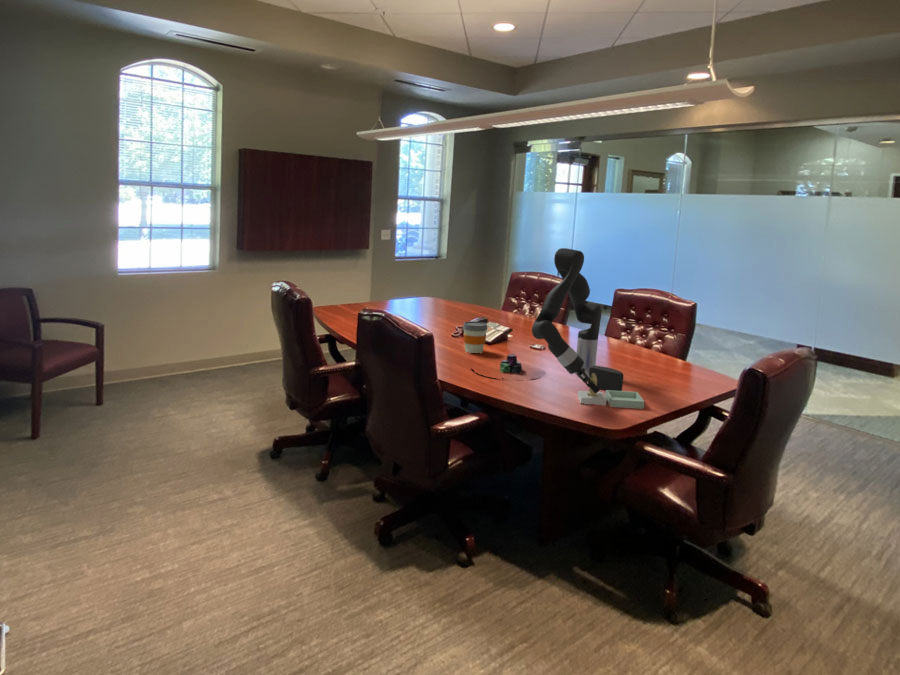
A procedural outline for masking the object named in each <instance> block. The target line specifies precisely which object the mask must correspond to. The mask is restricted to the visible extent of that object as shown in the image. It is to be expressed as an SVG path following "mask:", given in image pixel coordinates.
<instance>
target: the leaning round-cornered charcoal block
mask: <svg viewBox="0 0 900 675" xmlns="http://www.w3.org/2000/svg"><path fill="white" fill-rule="evenodd" d="M592 373H595V375H596V376H597V377H596V378H597V387H598V389H599V390H602V391H606V390H613V391H623V385H624V373H623V372H622V371H620V370H617V369H614V368H611V367H605V366H602V365H601V366H599V365H596V366H591V367H590V368H589V375H590V377H591V375H592ZM591 378H592V377H591ZM587 383H588V382H587ZM588 384H589V383H588Z"/></svg>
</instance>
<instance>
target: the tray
mask: <svg viewBox="0 0 900 675" xmlns="http://www.w3.org/2000/svg"><path fill="white" fill-rule="evenodd" d="M604 396H605V397H606V399H607V404H609V407H610V406H611V408H622V407H623V408H625V409H626V408H627V409H640V410H641V409H642V410H644V408H645V400H644V399H643V398H642V396H641V395H640V394H639V392H638V391H629V390H628V391H627V390H622V391H613V390H605V394H604ZM623 408H622V409H623Z"/></svg>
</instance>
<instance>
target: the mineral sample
mask: <svg viewBox="0 0 900 675" xmlns="http://www.w3.org/2000/svg"><path fill="white" fill-rule="evenodd" d="M499 366H500V370H499V371H501V372H500V373H508V372H510V373H511V372H513V374H516V373H518V374H517V375H521V373H522V370H523V369H522V367H523V365H522V363H521V362H520V361H519V360H518V356H517V355H516V354H514V353H509V354H507V355H506V359H503V360H501V361H500V363H499ZM539 378H540V377H538V378H537V379H538V380H539ZM534 380H536V378H534V379H530V381H534Z"/></svg>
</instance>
